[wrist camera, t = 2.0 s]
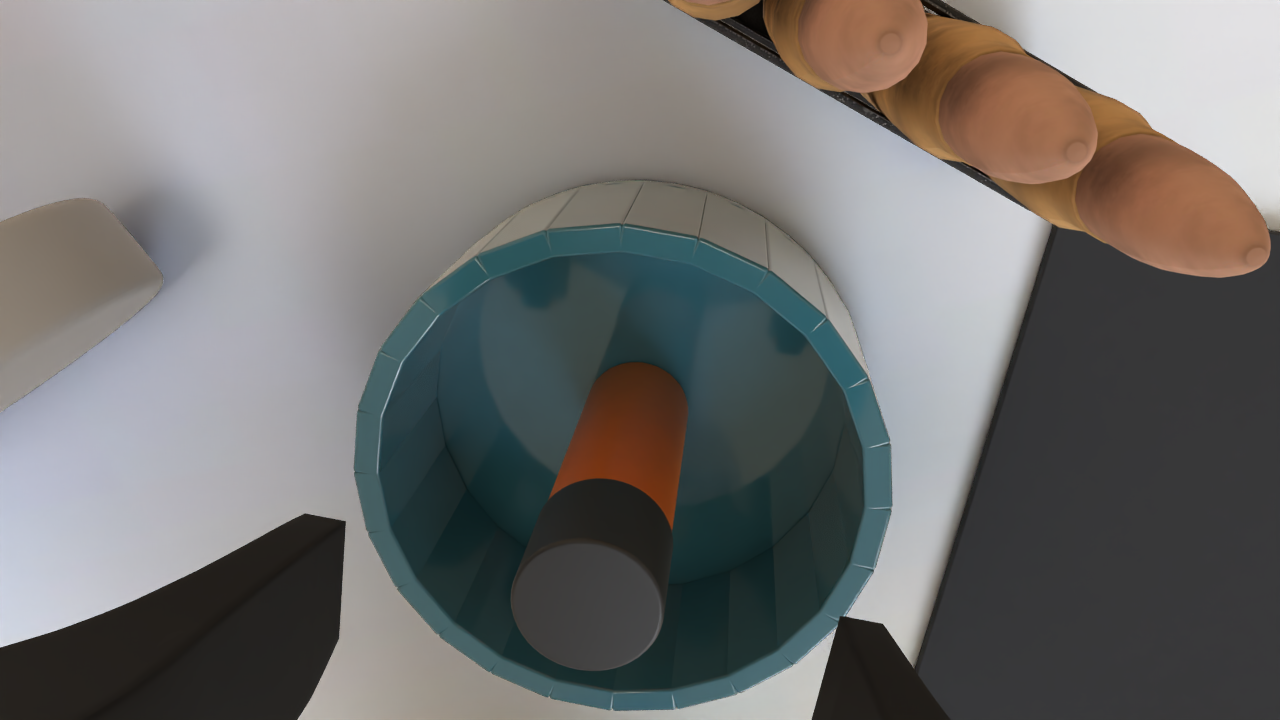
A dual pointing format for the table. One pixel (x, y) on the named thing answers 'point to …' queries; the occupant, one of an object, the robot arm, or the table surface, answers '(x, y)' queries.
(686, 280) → the teal round dish
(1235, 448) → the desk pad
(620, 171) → the table surface
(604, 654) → the glue stick
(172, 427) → the table surface
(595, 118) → the table surface
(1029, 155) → the ammunition clip
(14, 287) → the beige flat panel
